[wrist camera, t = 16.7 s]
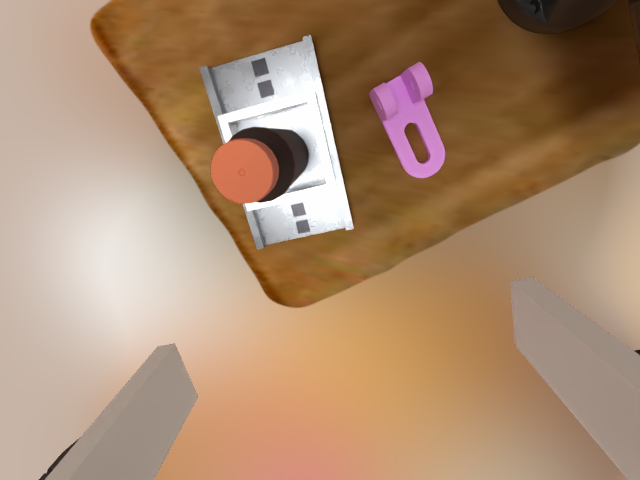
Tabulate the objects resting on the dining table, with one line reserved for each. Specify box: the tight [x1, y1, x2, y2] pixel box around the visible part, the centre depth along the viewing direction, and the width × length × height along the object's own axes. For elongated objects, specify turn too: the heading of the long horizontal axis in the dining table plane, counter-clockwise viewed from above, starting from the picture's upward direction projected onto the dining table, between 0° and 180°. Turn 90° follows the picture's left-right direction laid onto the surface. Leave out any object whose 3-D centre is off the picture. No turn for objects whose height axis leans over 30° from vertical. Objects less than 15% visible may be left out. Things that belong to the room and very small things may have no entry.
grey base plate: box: [199, 35, 354, 250], centre depth 42 cm, size 14×24×4 cm, turn 14°
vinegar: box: [210, 127, 309, 204], centre depth 34 cm, size 7×7×20 cm
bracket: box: [369, 62, 445, 178], centre depth 39 cm, size 13×6×7 cm, turn 29°
